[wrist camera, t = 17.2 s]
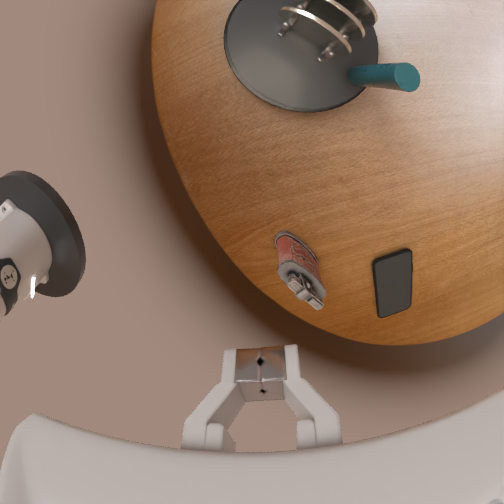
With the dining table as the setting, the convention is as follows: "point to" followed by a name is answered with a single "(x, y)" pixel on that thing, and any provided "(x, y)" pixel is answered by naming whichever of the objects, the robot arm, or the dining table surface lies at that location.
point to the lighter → (299, 269)
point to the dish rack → (311, 51)
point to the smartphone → (393, 282)
